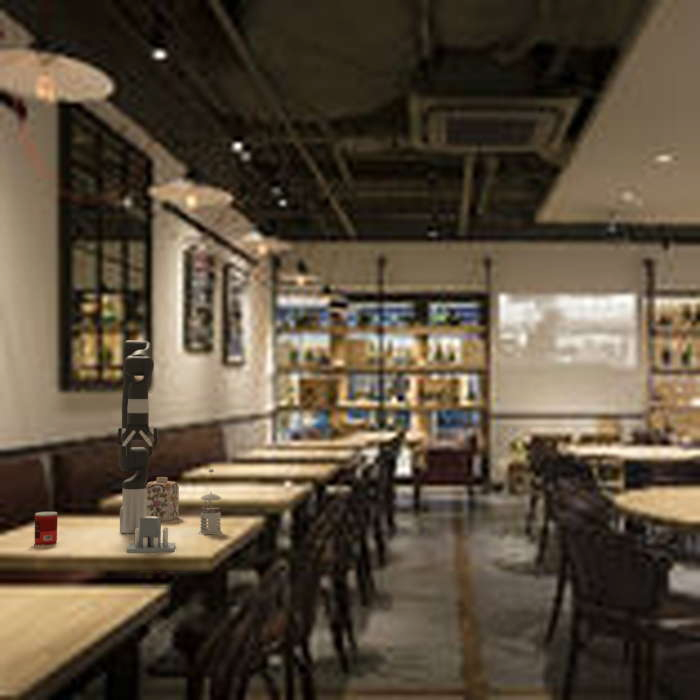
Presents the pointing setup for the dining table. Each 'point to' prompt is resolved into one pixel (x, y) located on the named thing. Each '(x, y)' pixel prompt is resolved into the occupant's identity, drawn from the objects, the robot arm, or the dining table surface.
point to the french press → (210, 515)
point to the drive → (150, 529)
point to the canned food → (45, 528)
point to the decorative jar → (162, 499)
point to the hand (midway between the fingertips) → (137, 456)
